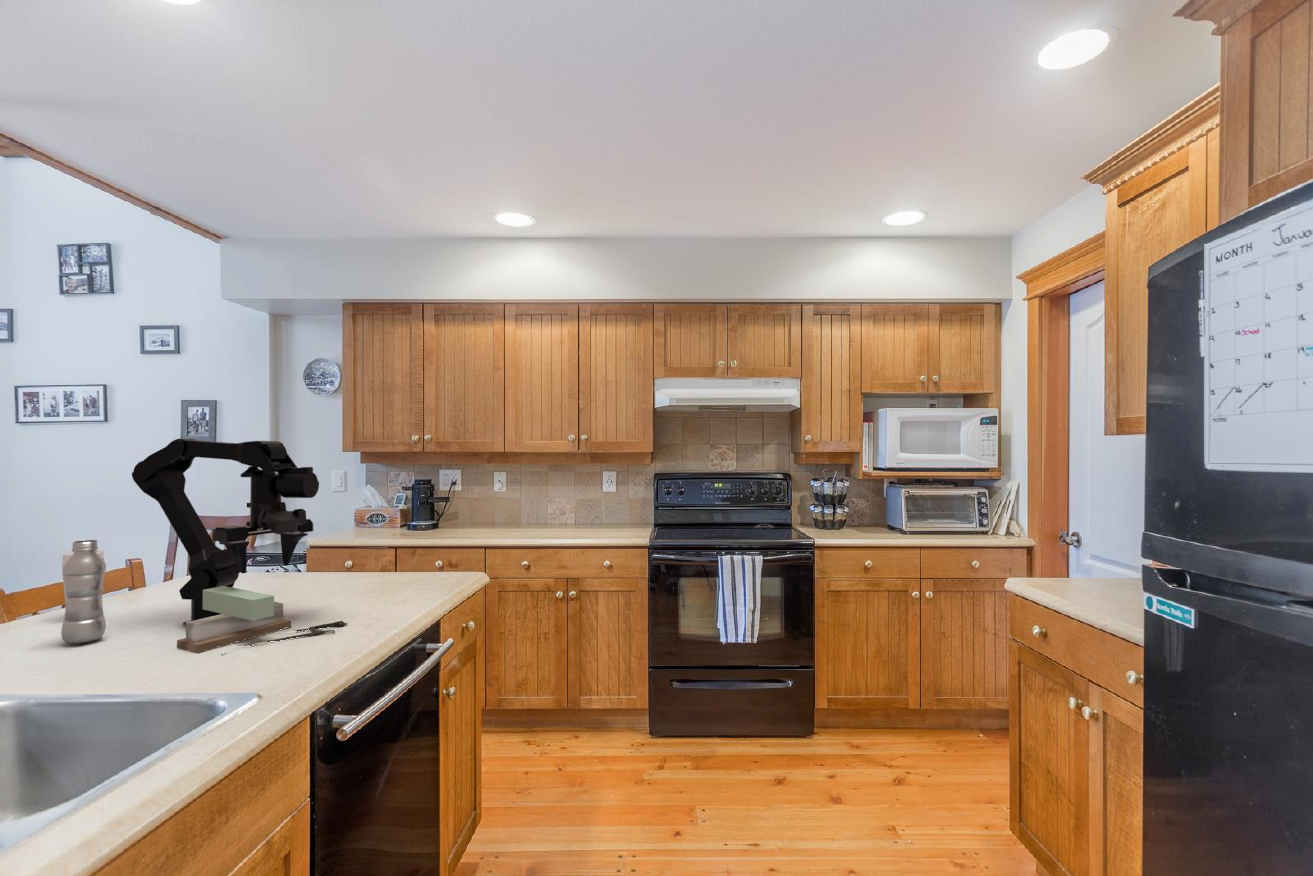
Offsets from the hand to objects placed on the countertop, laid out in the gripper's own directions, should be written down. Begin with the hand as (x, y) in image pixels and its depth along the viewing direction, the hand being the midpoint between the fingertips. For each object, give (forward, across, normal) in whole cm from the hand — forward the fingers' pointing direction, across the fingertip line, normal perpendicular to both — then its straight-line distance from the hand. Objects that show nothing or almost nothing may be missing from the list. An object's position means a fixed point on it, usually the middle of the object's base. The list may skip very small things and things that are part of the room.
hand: (265, 569), depth 132 cm
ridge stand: (+12, -8, -4) cm, 15 cm away
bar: (+7, -8, -4) cm, 11 cm away
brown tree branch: (+13, -5, -14) cm, 19 cm away
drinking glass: (+12, -15, +41) cm, 45 cm away
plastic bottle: (+12, -23, +20) cm, 33 cm away
